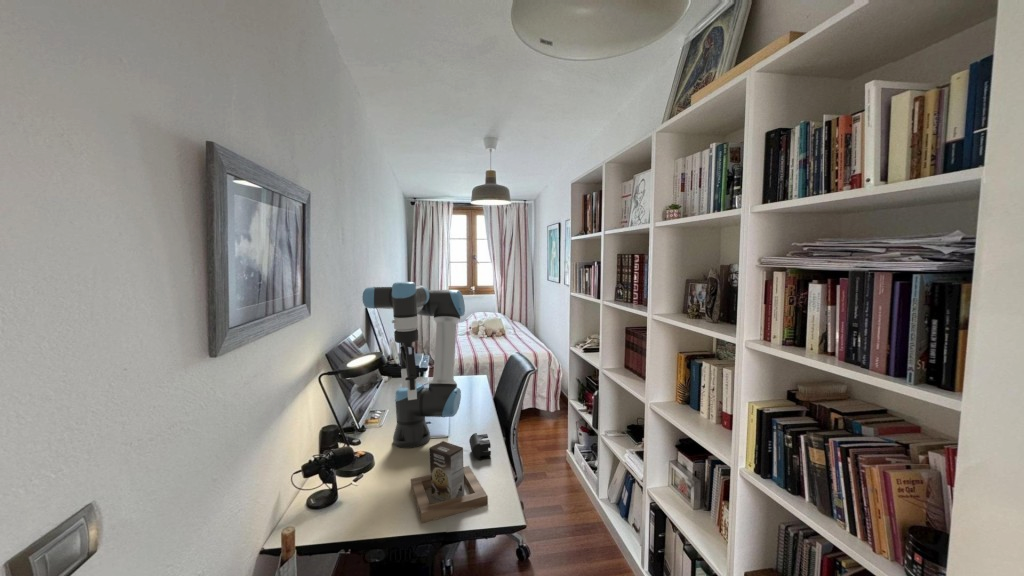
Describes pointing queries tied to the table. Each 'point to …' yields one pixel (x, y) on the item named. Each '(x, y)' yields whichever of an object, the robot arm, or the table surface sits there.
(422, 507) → the walnut hole plate
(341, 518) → the table surface
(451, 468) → the coffee box
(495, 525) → the table surface
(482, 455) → the end cap
